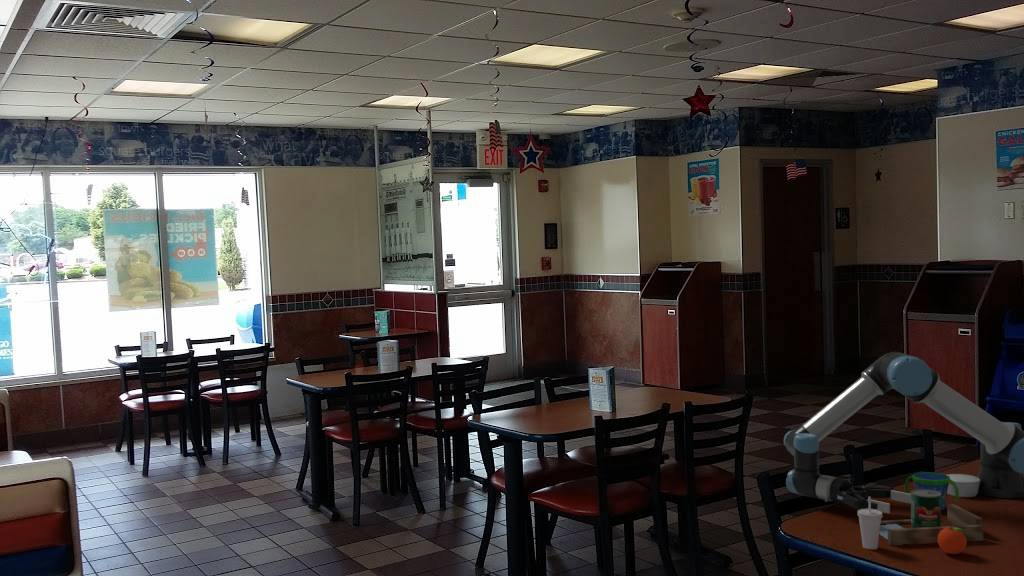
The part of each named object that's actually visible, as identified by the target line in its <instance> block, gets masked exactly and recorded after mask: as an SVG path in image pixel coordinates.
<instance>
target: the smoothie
mask: <svg viewBox="0 0 1024 576" xmlns="http://www.w3.org/2000/svg"><path fill="white" fill-rule="evenodd" d="M868 499H869V509H867V508H866V509H862V508H861V509H857V516H858V523H859V522H860V525H859V528H860V535H861V541H862V542H861V543H862V548H864V549H865V550H866V549H867V550H877V549H878V547H879V539H880V535H879V532H880V524H881V521H882V518H883V517H884V516H883V512H881V511H878V510H874V509H871V500H872V498H871V497H868Z"/></svg>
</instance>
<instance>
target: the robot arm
mask: <svg viewBox="0 0 1024 576" xmlns="http://www.w3.org/2000/svg"><path fill="white" fill-rule="evenodd" d="M860 375H861V376H860V377H859V378H858V379H857V380H856V381H855V382H853V383H852V384H851V385H850V386H848V387H846V389H845V390H844V391H842V392H841V393H840V394H839V395H837V396H836V397H835V398H834V399H832V400H831V401H830V402H829V403H828V404H826V405H825V406H824V407H822V408H821V409H820V410H819V411H817V413H815V414H814V415H813V416H811V417H810V418H809V419H808V420H807V421H806V422H804V423H803V424H802V425H801V426H799V427H798V428H796V429H792V430H789V431H787V432H786V433H785V435H784V436H783V437H784V438H783V444H784V446H785V449H786V451H787V452H788V453H789V454H791V455H792V456H793V458H794V459H793V462H794V468H793V469H791V470H789V472H787V475H786V479H785V485H786V488H787V490H788V491H789V492H791V493H793V494H797V495H799V496H803V497H804V496H805V497H809V498H813V499H818V500H823V501H824V502H825V503H827V502H833V503H836V504H841V505H847V506H849V507H852V508H854V509H856V510H860V509H869V499H868V497H871V509H874V510H878V511H881V512H882V513H885V514H891V504H890V503H888V502H883V501H879V500H875V499H890V500H892V501H896V502H900V503H906V504H910V505H911V493H905V491H904V492H902V491H897V490H895V488H894V487H893V486H890V487H887V486H886V487H884V486H873V485H872V486H871V485H870V486H869V485H865V484H864V485H863V484H860V485H856V486H855V485H854V486H853V485H852V483H851V482H850V480H849V479H846V478H845V479H844V478H841V477H840V478H839V477H835V476H830V475H824V474H821V473H820V444H819V443H820V442H821V441H822V440H823V439H825V438H826V437H827V436H829V435H830V434H831V433H832V432H834V431H835V430H836V429H837V428H838V427H840V425H842V424H843V423H845V422H846V421H847V420H848V419H849V418H851V417H852V416H853V415H854V414H856V413H857V412H858V411H859V410H860V409H862V408H863V407H864V406H866V405H867V404H868V403H869V402H871V401H872V400H873V399H875V397H877V396H879V395H880V396H883V395H885V394H887V392H889V391H890V390H895V391H896V392H898V393H900V394H901V395H902V396H904V397H905V398H907V399H908V400H910V401H911V402H913V403H914V404H920V403H922V404H924V405H926V406H928V407H929V408H930V409H932V410H933V411H934V412H936V413H938V414H939V415H940V416H942V417H943V418H945V419H946V420H948V421H949V422H951V423H952V424H953V425H955V426H956V427H958V428H960V429H961V430H963V431H964V432H965V433H967V434H969V435H970V436H971V437H973V438H974V439H976V440H977V441H979V442H980V444H979V445H980V467H979V471H978V473H977V476H976V477H977V478H979V479H980V484H979V489H978V494H981V495H984V496H987V497H992V498H1002V499H1021V498H1024V430H1023V429H1022V425H1021V424H1020V423H1018V422H1011V421H1010V422H1008V421H1006V422H1005V421H1000V420H999V419H997V418H996V417H995V416H993V415H991V414H990V413H989V412H987V411H985V410H984V409H983V408H981V407H980V406H979V405H977V404H975V403H974V402H972V401H971V400H969V399H968V398H966V397H965V396H963V395H962V394H960V392H958V391H956V390H954V389H953V388H952V387H950V386H949V385H948V384H946V383H944V382H943V381H942V380H941V379H940V375H939V372H937V371H936V370H934V369H933V368H931V367H929V366H928V363H926V362H925V361H924V360H923V359H921V358H919V357H917V356H913V355H909V354H906V353H904V352H900V351H892V352H889V353H888V352H887V353H886V354H884V355H882V356H880V357H879V358H878V359H876V360H875V361H873V363H871V364H870V365H869V366H868V367H867V368H865V369H864V370H862V372H861V374H860Z"/></svg>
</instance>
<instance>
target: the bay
mask: <svg viewBox="0 0 1024 576" xmlns="http://www.w3.org/2000/svg"><path fill="white" fill-rule="evenodd" d="M946 509H947V510H946V511H947V513H946V514H947V516H946V517H947V518H946V519H947V521H946V522H948V523H949V524H952V525H947V526H946V525H943V526H942V525H941V527H922V528H911V527H903V528H902V529H888V540H887V545H890V546H902V545H903V544H908V545H923V544H924V545H925V544H938V535H939V533H940V531H941V530H943V529H945V528H947V527H953V528H960V529H962V530H960V529H959V530H960V531H961V532H962V533H963V534H964V535H965V538H966V541H967V542H979V541H984V525H983V517H981V516H978V515H977V514H974V513H972V512H970V511H968V510H967V509H964V508H962V507H960V506H958V505H956V504H954V503H953V504H952V503H951V504H947V506H946ZM900 523H906V524H911V518H910V519H893V520H881V524H886V525H888V524H898V525H901V524H900ZM858 525H859V526H860V522H859V521H858ZM965 531H966V532H967V533H968V534H967V533H966V532H965ZM903 546H904V545H903Z"/></svg>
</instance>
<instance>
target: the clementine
mask: <svg viewBox="0 0 1024 576" xmlns="http://www.w3.org/2000/svg"><path fill="white" fill-rule="evenodd" d="M959 529H960V528H953V527H947V528H945V529H943V530H941V531H940V533H939V535H938V543H937V544H938V546H939V548H940V549H941V550H942V551H943V552H944V553H947V554H948V555H959V554H961V553H962V552H963V551H964V550H965V549H966V547H967V542H968V541H966V538H965V535H964V534H963V533H962V532H961V531H960V530H962V529H960V530H959ZM965 532H966V531H965ZM966 533H967V532H966ZM967 534H968V533H967Z"/></svg>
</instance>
